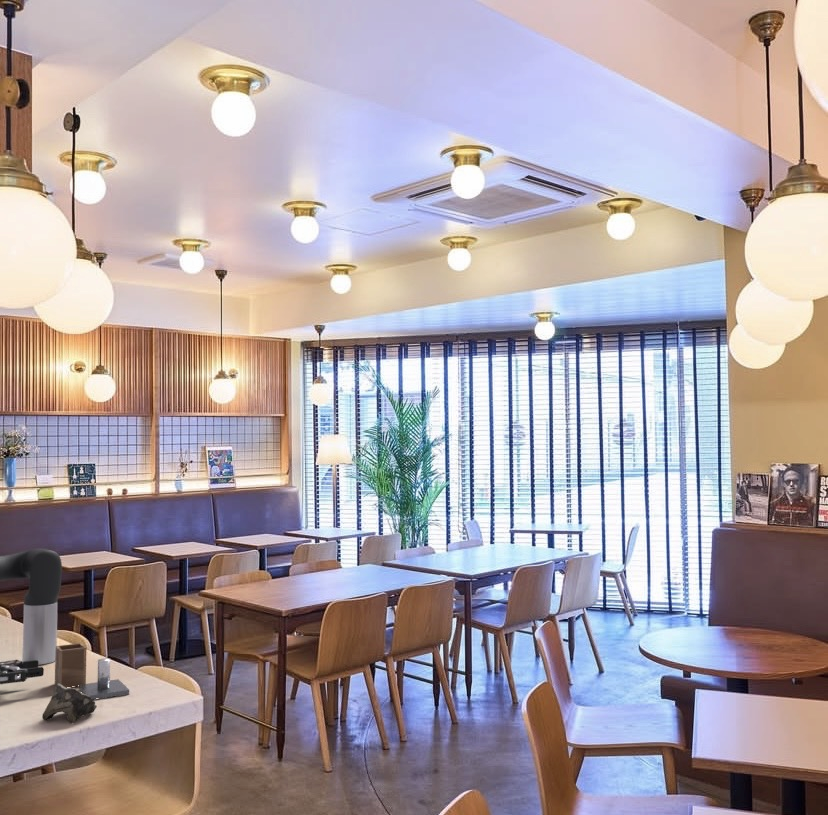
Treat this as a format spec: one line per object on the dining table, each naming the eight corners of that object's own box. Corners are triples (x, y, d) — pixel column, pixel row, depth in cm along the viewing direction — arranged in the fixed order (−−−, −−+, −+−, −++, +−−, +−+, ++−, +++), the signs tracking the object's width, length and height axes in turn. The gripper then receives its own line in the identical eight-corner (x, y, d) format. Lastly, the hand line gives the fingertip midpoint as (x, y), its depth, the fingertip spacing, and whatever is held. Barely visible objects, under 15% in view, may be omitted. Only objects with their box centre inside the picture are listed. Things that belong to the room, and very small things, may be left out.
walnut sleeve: (54, 683, 219) (55, 646, 220) (80, 680, 223) (81, 643, 224) (58, 689, 214) (59, 650, 214) (85, 685, 217) (86, 647, 218)
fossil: (105, 708, 196) (97, 675, 192) (87, 738, 188) (79, 704, 184) (62, 705, 197) (54, 673, 193) (42, 734, 189) (33, 701, 185)
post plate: (78, 689, 214) (79, 657, 214) (118, 683, 219) (118, 652, 220) (87, 700, 204) (88, 667, 204) (129, 694, 209) (129, 661, 210)
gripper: (-33, 685, 212) (36, 676, 220) (-28, 698, 200) (44, 688, 208) (-32, 655, 212) (37, 647, 221) (-27, 667, 200) (45, 658, 209)
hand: (40, 667), depth 215 cm, fingers open, 8 cm apart
